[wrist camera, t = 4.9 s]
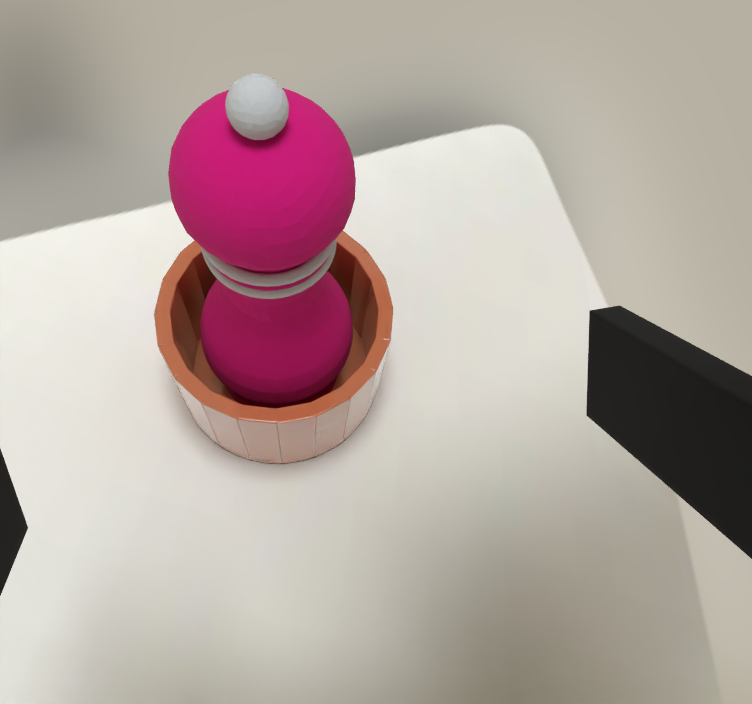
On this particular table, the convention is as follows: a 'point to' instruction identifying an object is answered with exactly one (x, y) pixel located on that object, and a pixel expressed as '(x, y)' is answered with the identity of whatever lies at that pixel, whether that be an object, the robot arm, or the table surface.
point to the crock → (292, 423)
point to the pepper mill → (267, 238)
